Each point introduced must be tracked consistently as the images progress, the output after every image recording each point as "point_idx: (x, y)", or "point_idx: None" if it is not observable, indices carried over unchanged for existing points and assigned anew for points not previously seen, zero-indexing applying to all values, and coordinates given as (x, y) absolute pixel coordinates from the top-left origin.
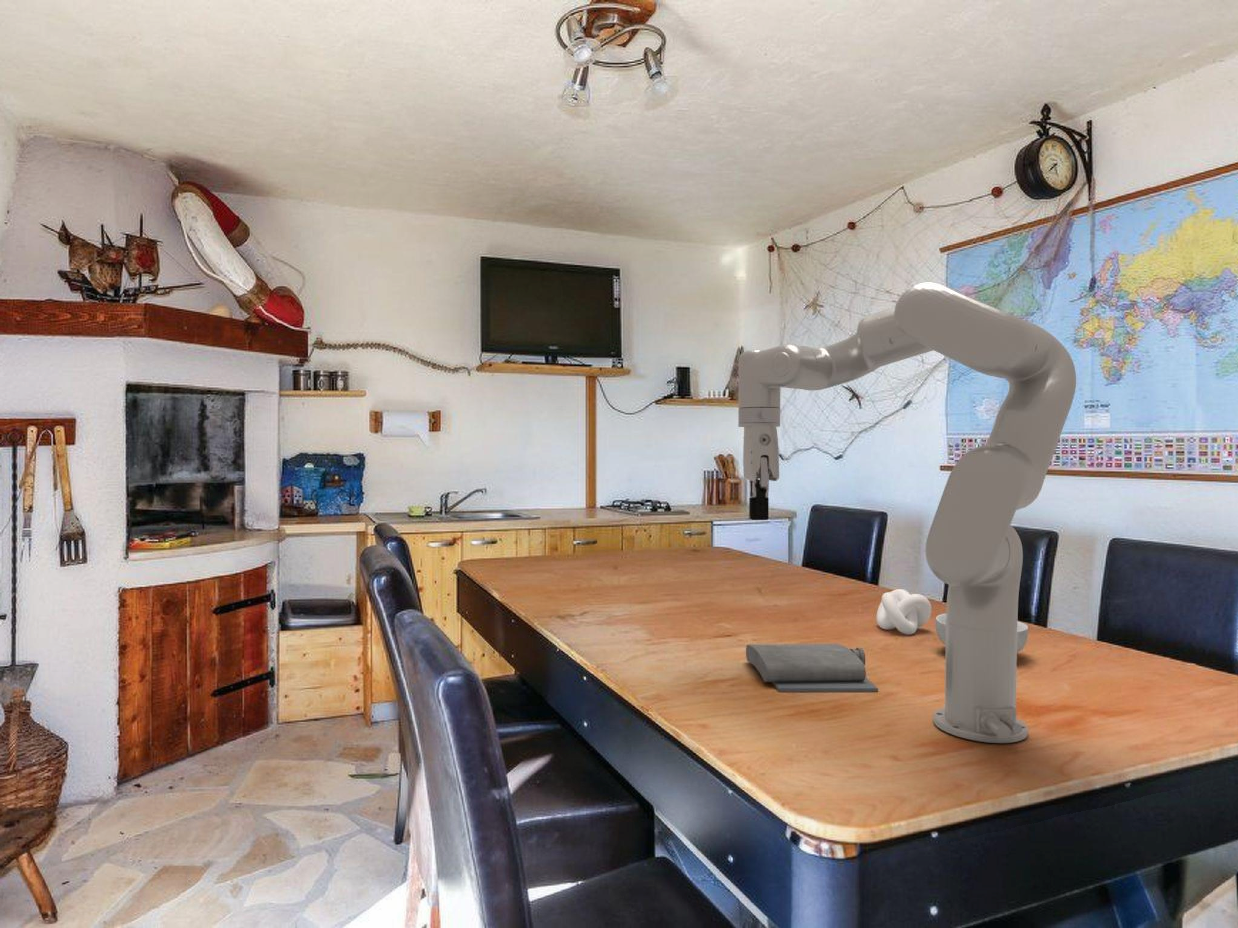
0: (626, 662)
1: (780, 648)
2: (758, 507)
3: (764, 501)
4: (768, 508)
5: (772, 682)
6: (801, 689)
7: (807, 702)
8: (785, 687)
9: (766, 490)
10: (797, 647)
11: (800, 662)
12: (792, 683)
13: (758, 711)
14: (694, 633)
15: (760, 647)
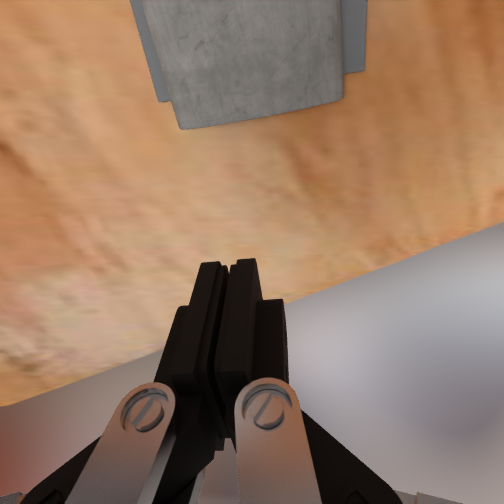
0: None
1: (235, 60)
2: (286, 360)
3: (283, 369)
4: (251, 302)
5: None
6: (365, 20)
7: (428, 15)
8: (359, 56)
9: (367, 469)
10: (217, 12)
11: (321, 17)
12: None
13: (460, 114)
14: (21, 207)
15: (232, 106)
